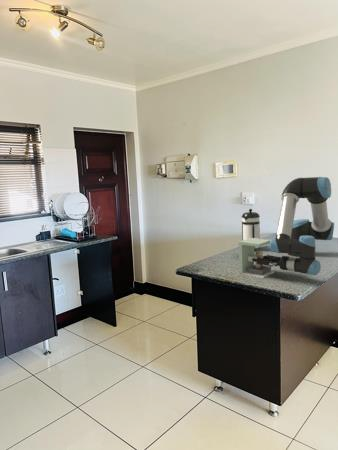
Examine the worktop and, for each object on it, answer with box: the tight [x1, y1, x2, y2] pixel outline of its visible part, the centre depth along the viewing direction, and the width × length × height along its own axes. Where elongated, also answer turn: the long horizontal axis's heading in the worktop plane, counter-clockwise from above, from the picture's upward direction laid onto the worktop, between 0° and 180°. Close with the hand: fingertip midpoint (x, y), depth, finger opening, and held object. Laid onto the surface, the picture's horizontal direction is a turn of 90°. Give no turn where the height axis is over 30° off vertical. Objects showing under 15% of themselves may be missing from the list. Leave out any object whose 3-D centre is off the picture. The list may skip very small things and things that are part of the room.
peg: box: [254, 251, 264, 269], centre depth 195 cm, size 4×4×11 cm
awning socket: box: [238, 238, 276, 279], centre depth 194 cm, size 15×13×18 cm
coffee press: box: [241, 208, 262, 252], centre depth 251 cm, size 17×16×30 cm
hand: (250, 257), depth 198 cm, fingers open, 4 cm apart
